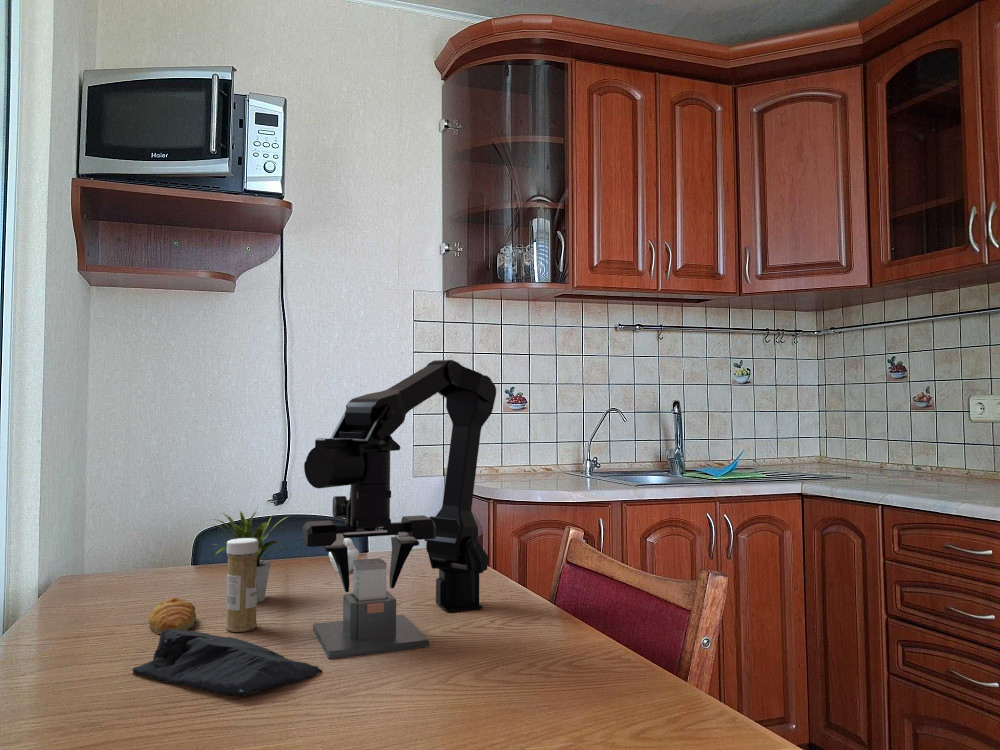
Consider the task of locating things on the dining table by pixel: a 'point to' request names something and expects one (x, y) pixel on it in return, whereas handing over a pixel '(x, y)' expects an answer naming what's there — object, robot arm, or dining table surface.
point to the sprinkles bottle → (242, 584)
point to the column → (369, 579)
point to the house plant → (262, 565)
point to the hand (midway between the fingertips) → (369, 589)
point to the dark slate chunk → (221, 664)
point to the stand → (368, 629)
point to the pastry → (172, 616)
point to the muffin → (352, 554)
